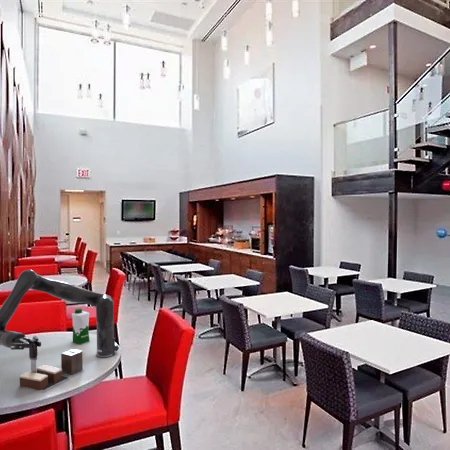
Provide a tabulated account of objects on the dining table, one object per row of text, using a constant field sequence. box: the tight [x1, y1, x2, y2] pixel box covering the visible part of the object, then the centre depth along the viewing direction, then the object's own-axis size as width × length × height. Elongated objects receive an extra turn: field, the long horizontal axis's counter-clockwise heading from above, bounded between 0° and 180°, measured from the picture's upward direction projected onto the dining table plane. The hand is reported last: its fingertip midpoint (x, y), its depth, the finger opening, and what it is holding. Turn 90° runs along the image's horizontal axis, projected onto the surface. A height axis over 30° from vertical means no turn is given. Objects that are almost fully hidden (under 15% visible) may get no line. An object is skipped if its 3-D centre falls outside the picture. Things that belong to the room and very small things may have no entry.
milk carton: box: [71, 308, 90, 345], centre depth 230 cm, size 9×9×20 cm
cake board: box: [41, 375, 69, 391], centre depth 176 cm, size 15×14×1 cm
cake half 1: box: [19, 371, 48, 391], centre depth 170 cm, size 12×4×5 cm, turn 71°
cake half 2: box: [36, 364, 63, 383], centre depth 177 cm, size 12×4×5 cm, turn 65°
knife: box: [28, 339, 38, 373], centre depth 173 cm, size 3×2×19 cm
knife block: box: [60, 348, 84, 376], centre depth 186 cm, size 7×7×10 cm
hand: (37, 345), depth 171 cm, fingers closed on knife, 2 cm apart
